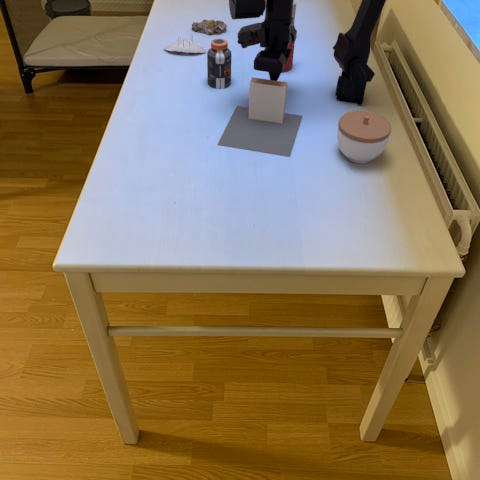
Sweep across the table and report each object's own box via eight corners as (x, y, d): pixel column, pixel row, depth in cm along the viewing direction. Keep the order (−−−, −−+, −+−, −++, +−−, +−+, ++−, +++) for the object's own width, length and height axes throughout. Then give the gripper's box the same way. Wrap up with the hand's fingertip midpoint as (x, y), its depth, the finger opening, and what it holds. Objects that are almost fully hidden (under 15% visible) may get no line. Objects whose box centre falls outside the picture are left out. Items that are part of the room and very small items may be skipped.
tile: (284, 118, 119) (287, 82, 112) (282, 123, 117) (285, 87, 110) (250, 113, 120) (252, 77, 113) (248, 118, 118) (249, 82, 112)
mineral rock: (227, 17, 156) (226, 20, 149) (227, 32, 158) (226, 36, 151) (192, 17, 156) (189, 20, 149) (193, 32, 158) (190, 36, 151)
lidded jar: (343, 172, 105) (350, 133, 99) (326, 143, 113) (333, 105, 106) (391, 167, 107) (402, 128, 100) (372, 138, 114) (381, 101, 108)
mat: (302, 117, 120) (302, 115, 119) (289, 158, 108) (290, 156, 108) (236, 107, 122) (236, 105, 122) (217, 146, 111) (217, 144, 110)
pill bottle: (228, 92, 128) (228, 48, 120) (205, 89, 128) (204, 45, 120) (233, 80, 132) (233, 37, 124) (210, 78, 132) (210, 34, 124)
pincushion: (161, 55, 142) (159, 35, 138) (166, 46, 146) (164, 26, 142) (204, 58, 141) (204, 38, 137) (207, 49, 145) (207, 29, 141)
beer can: (292, 62, 140) (296, 18, 131) (291, 73, 135) (296, 28, 127) (268, 60, 140) (271, 16, 132) (266, 72, 135) (269, 26, 127)
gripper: (251, -5, 116) (249, 61, 127) (230, 27, 103) (229, 97, 114) (300, 1, 114) (293, 67, 125) (284, 34, 101) (278, 105, 112)
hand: (273, 83), depth 119 cm, fingers closed
